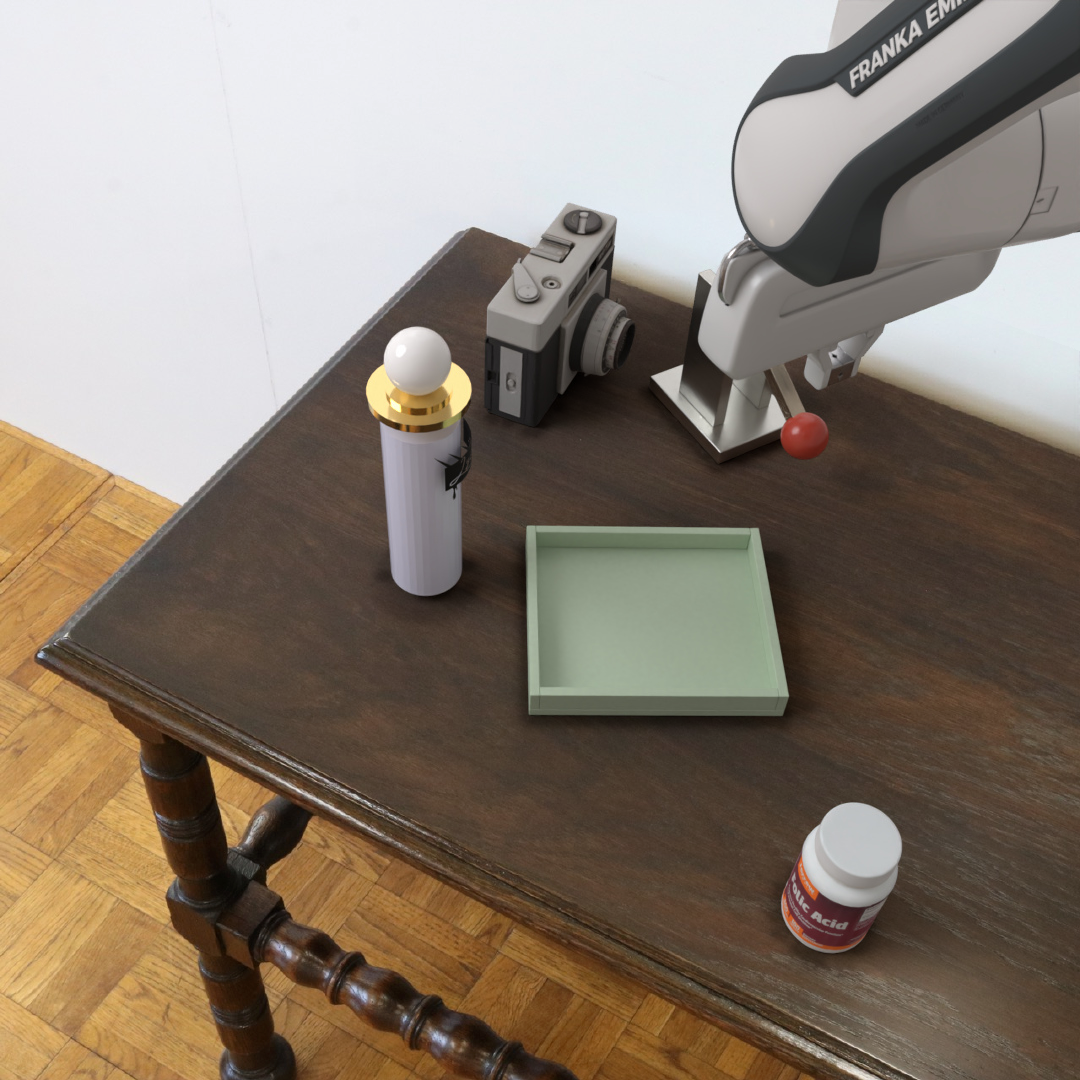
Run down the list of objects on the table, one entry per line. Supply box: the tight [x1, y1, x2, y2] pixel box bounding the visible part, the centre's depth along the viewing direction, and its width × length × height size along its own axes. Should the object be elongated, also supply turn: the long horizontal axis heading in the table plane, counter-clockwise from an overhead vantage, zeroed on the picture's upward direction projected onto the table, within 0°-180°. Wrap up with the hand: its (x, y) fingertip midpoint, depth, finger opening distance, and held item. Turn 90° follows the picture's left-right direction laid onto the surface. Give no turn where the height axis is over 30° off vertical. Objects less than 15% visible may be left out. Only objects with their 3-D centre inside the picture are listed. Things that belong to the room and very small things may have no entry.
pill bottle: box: [780, 802, 903, 954], centre depth 64 cm, size 5×5×8 cm
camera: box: [483, 202, 637, 428], centre depth 91 cm, size 14×8×10 cm, turn 155°
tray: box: [525, 525, 790, 717], centre depth 79 cm, size 15×13×2 cm
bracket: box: [648, 268, 786, 464], centre depth 88 cm, size 9×7×12 cm
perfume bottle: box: [365, 326, 473, 597], centre depth 74 cm, size 6×6×20 cm
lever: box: [763, 363, 830, 461], centre depth 85 cm, size 13×3×3 cm
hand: (828, 377), depth 81 cm, fingers closed
